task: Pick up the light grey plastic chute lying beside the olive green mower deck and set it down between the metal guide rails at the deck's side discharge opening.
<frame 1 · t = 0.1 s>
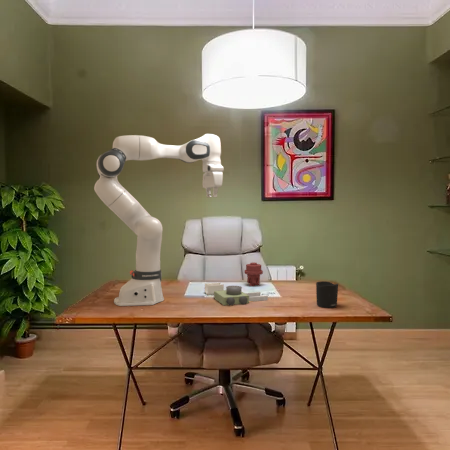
hand: (211, 197, 197), 48 cm above the table, tool pointing down, fingers open, 8 cm apart
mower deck: (231, 300, 189), on the table
mechanical component: (253, 285, 224), on the table
chute: (214, 294, 203), on the table
pen holder: (326, 306, 181), on the table
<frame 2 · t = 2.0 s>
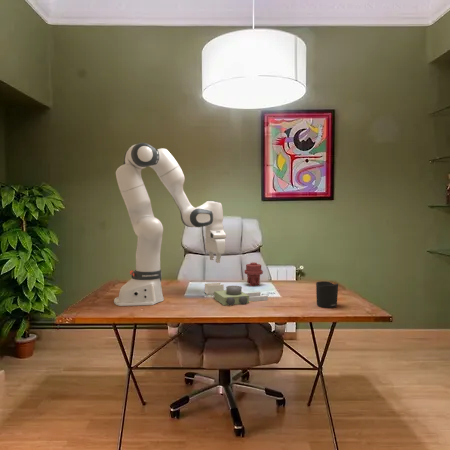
hand: (214, 261, 202), 16 cm above the table, tool pointing down, fingers open, 8 cm apart
nothing on the table moved.
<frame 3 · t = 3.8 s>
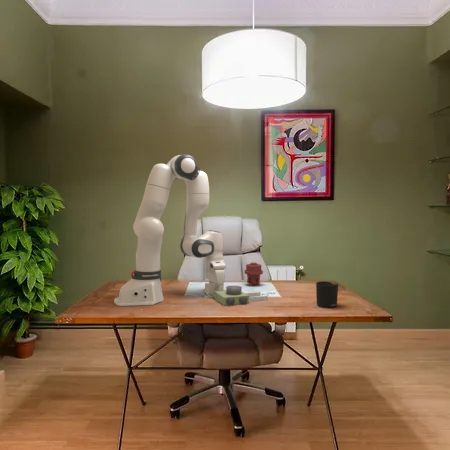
hand: (214, 290, 203), 2 cm above the table, tool pointing down, fingers closed on chute, 5 cm apart
chute: (214, 293, 203), on the table, touching gripper
everything else where it was.
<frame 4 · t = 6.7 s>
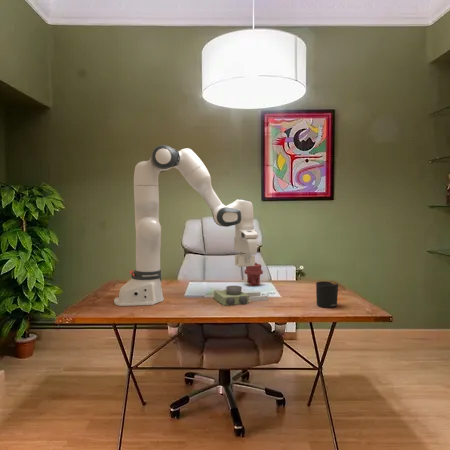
hand: (244, 262, 195), 17 cm above the table, tool pointing down, fingers closed on chute, 5 cm apart
chute: (244, 265, 195), point 15 cm above the table, touching gripper
everything else where it was.
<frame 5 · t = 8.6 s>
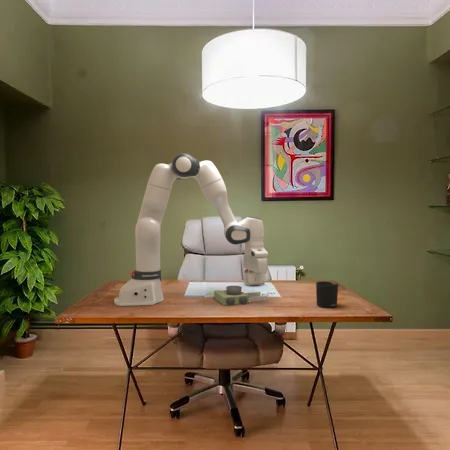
hand: (254, 280, 192), 9 cm above the table, tool pointing down, fingers closed on chute, 5 cm apart
chute: (254, 283, 192), point 7 cm above the table, touching gripper
everything else where it was.
when the fingers open (4 cm above the table, at t = 10.0 s): chute drops 2 cm, resting in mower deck.
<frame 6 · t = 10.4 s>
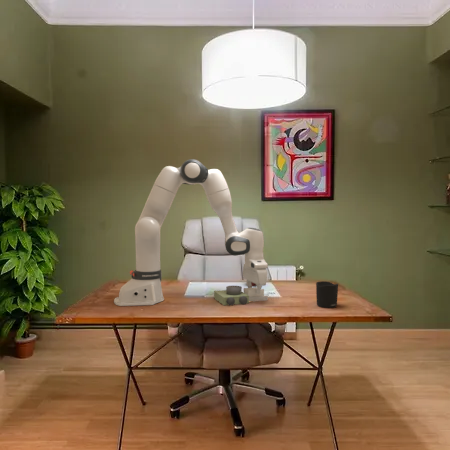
hand: (253, 291, 193), 4 cm above the table, tool pointing down, fingers open, 8 cm apart
chute: (253, 299, 193), resting in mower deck
everything else where it was.
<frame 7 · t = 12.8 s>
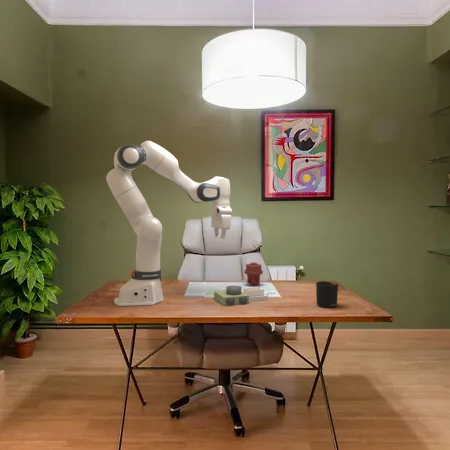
hand: (219, 237, 201), 28 cm above the table, tool pointing down, fingers open, 8 cm apart
nothing on the table moved.
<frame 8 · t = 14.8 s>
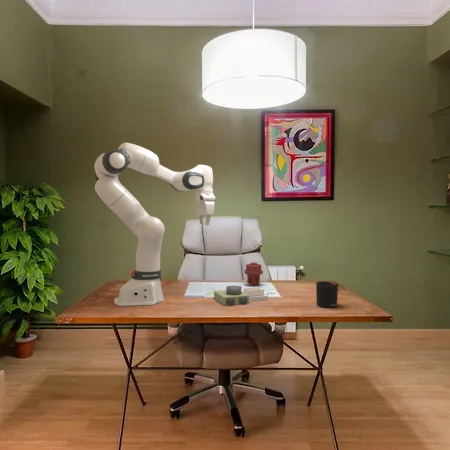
hand: (204, 224, 207), 34 cm above the table, tool pointing down, fingers open, 8 cm apart
nothing on the table moved.
at the end: chute 0.2 cm from the target spot, resting in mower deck; chute tilted 0°; the gripper is holding nothing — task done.
